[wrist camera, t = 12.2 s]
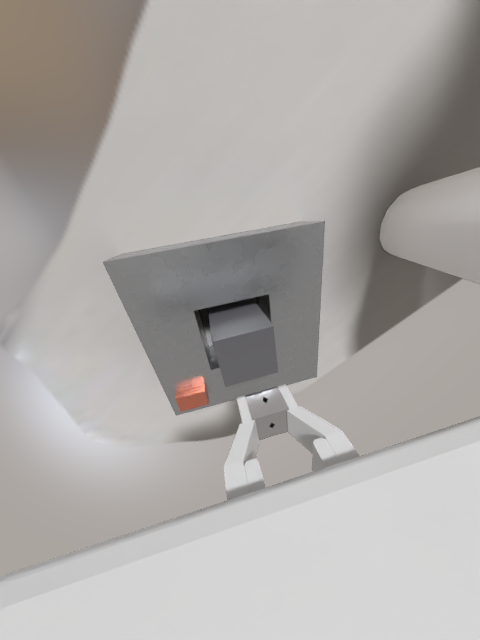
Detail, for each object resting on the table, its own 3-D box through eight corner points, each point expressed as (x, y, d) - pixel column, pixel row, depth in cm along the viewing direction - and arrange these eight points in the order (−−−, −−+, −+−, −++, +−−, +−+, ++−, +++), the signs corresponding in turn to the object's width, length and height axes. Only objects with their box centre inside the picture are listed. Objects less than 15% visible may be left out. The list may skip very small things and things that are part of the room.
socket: (122, 253, 16) (95, 264, 12) (299, 221, 18) (333, 221, 14) (179, 387, 24) (175, 424, 19) (300, 355, 26) (321, 383, 21)
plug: (207, 302, 20) (212, 341, 13) (248, 292, 20) (273, 326, 14) (216, 337, 22) (225, 387, 15) (254, 328, 22) (278, 372, 16)
